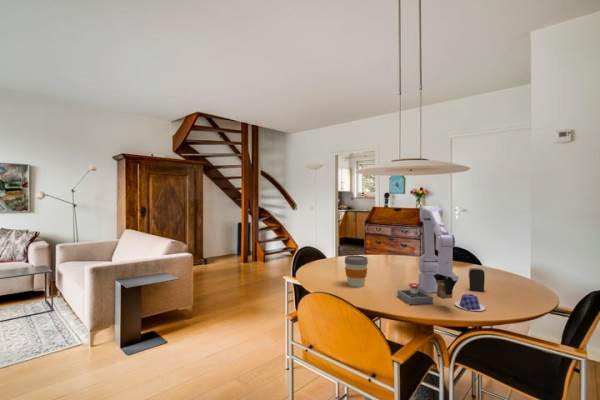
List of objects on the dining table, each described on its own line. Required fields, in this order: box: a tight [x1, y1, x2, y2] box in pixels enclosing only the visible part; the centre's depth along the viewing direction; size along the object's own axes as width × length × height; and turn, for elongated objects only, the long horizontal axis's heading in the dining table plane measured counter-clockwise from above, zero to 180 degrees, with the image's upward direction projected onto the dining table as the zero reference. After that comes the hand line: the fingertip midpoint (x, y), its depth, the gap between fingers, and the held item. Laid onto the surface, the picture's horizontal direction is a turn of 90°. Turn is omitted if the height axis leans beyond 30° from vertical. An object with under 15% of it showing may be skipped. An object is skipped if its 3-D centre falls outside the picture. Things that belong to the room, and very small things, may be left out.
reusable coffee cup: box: [344, 255, 369, 288], centre depth 166 cm, size 13×13×15 cm
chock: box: [436, 280, 453, 300], centre depth 132 cm, size 5×6×7 cm
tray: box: [396, 288, 434, 306], centre depth 142 cm, size 12×11×3 cm
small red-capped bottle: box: [408, 282, 419, 298], centre depth 141 cm, size 4×4×7 cm
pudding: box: [454, 293, 486, 312], centre depth 133 cm, size 12×12×5 cm
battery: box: [468, 267, 486, 292], centre depth 156 cm, size 7×4×11 cm, turn 70°
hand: (445, 292), depth 132 cm, fingers closed on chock, 4 cm apart
